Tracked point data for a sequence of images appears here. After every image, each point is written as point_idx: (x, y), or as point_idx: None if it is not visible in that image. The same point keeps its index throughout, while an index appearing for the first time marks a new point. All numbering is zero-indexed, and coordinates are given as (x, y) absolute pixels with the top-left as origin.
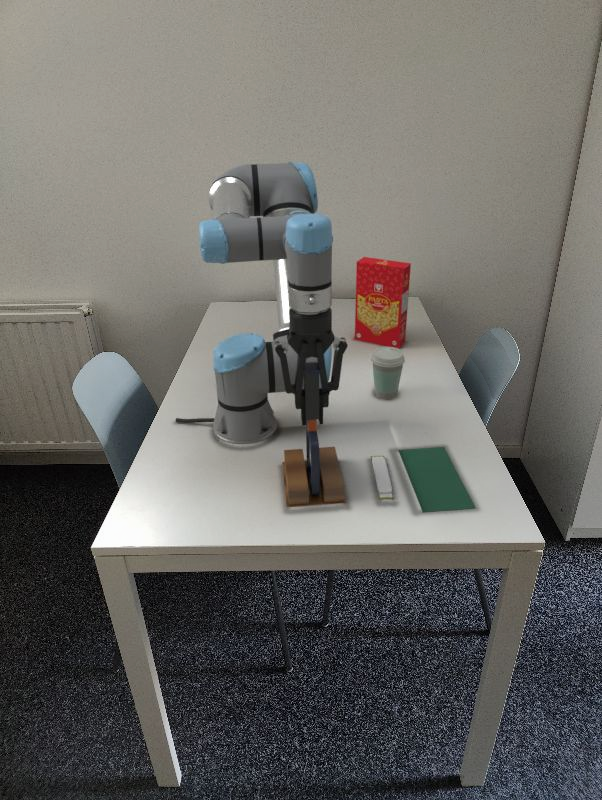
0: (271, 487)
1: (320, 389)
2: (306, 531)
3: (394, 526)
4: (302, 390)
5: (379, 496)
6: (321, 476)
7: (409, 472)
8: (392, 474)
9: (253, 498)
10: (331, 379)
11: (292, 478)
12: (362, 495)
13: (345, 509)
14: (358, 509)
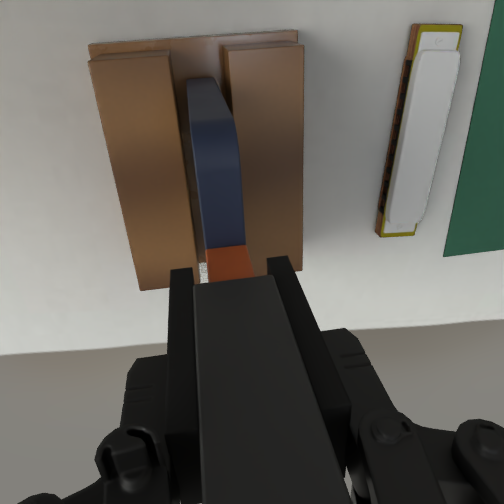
0: (75, 163)
1: (339, 421)
2: None
3: (384, 294)
4: (185, 447)
5: (383, 228)
6: None
7: (500, 101)
8: (450, 106)
9: (31, 213)
10: (483, 500)
11: (146, 236)
12: (341, 199)
13: None
14: (320, 248)
